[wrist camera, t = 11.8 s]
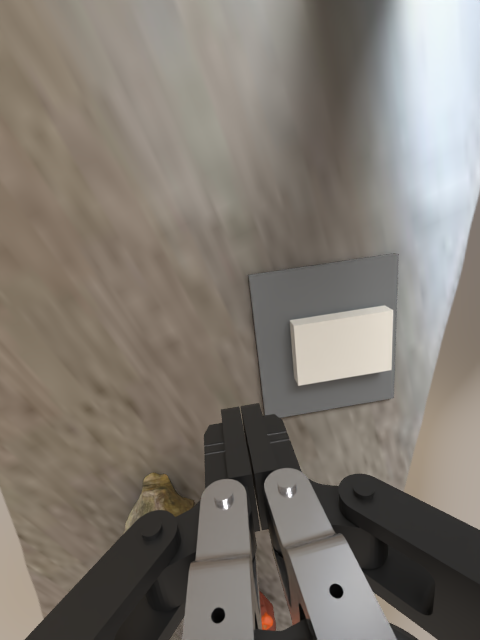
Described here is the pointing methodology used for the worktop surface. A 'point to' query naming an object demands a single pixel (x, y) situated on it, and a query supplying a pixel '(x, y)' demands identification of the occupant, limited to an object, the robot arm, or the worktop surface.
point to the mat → (314, 300)
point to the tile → (342, 344)
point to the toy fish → (267, 614)
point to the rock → (158, 499)
